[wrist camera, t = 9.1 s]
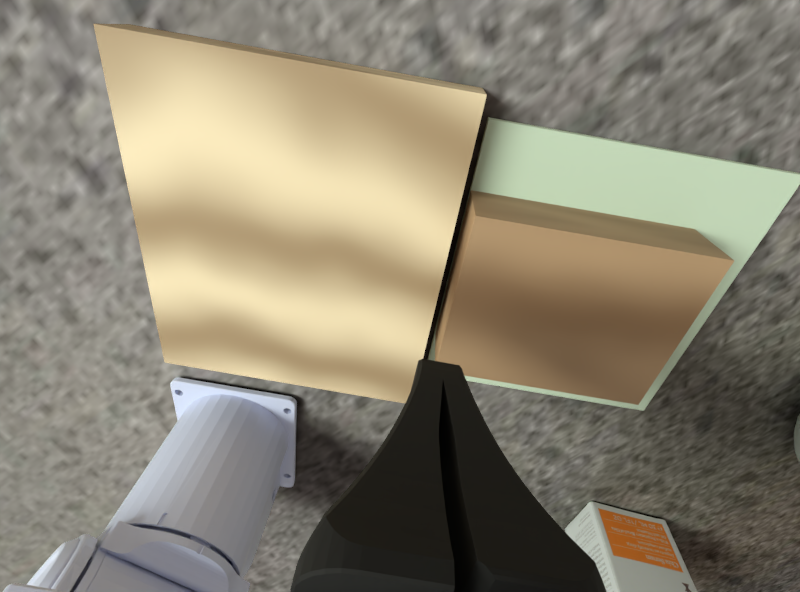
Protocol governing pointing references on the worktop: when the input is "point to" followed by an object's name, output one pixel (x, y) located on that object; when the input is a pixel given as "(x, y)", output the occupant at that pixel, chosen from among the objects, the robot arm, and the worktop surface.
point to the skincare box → (630, 550)
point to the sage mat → (633, 199)
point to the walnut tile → (571, 296)
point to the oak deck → (289, 205)
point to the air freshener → (797, 438)
